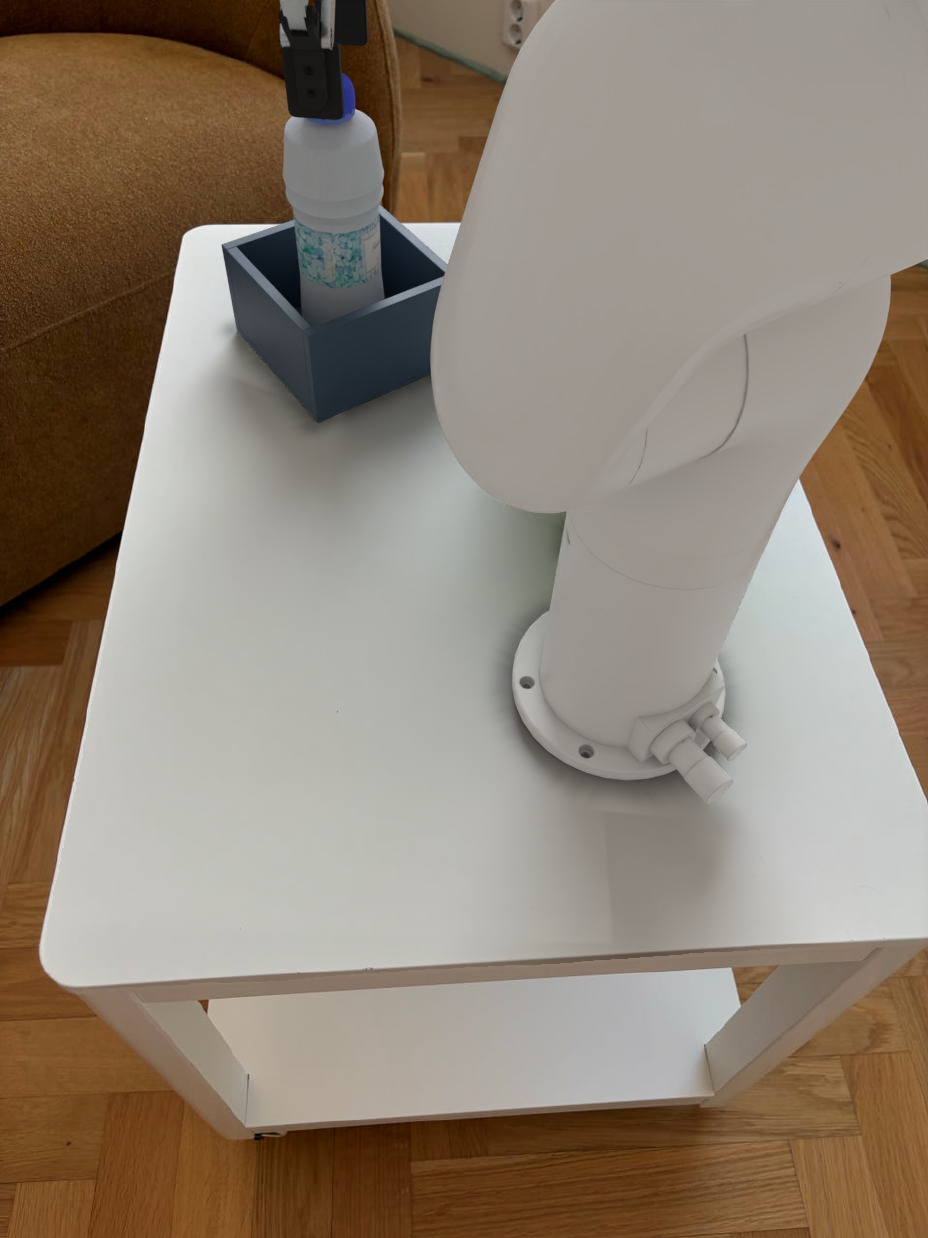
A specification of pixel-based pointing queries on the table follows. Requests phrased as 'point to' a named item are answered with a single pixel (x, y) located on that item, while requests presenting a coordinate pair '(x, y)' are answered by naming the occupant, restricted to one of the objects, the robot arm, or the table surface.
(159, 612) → the table surface
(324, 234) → the bottle
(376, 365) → the bin
